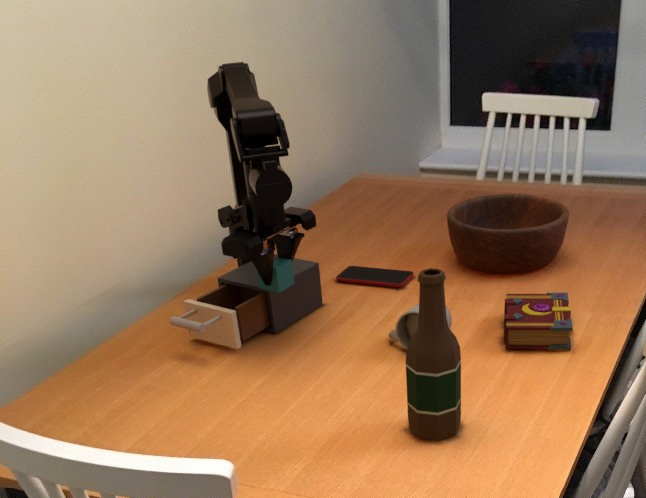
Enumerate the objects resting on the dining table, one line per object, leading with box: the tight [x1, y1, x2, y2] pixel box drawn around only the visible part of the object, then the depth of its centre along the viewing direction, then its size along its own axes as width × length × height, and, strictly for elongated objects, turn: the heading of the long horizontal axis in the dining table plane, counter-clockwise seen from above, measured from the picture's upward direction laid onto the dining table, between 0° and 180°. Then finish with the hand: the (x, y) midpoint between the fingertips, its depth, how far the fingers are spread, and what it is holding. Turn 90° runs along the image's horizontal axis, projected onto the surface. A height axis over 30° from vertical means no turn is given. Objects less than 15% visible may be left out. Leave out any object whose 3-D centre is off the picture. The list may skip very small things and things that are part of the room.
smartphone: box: [335, 265, 415, 288], centre depth 172 cm, size 7×1×15 cm
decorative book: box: [503, 291, 574, 351], centre depth 147 cm, size 11×16×5 cm
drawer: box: [169, 284, 271, 350], centre depth 150 cm, size 19×11×7 cm, turn 146°
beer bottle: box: [405, 267, 462, 442], centre depth 116 cm, size 8×8×24 cm
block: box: [257, 256, 295, 293], centre depth 145 cm, size 4×4×4 cm
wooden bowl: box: [446, 193, 570, 276], centre depth 175 cm, size 25×25×10 cm
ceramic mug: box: [388, 303, 453, 351], centre depth 144 cm, size 11×8×8 cm
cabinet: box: [216, 253, 324, 334], centre depth 158 cm, size 15×13×9 cm
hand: (276, 280), depth 146 cm, fingers closed on block, 4 cm apart
